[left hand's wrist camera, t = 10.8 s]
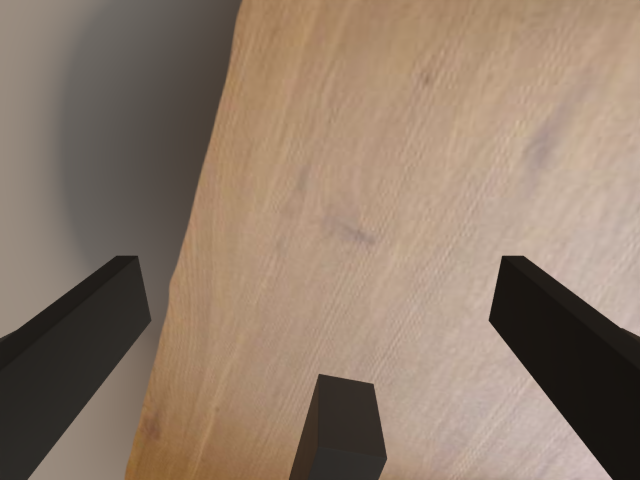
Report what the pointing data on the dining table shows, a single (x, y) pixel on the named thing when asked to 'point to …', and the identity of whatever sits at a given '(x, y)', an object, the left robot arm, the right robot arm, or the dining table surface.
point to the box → (341, 433)
